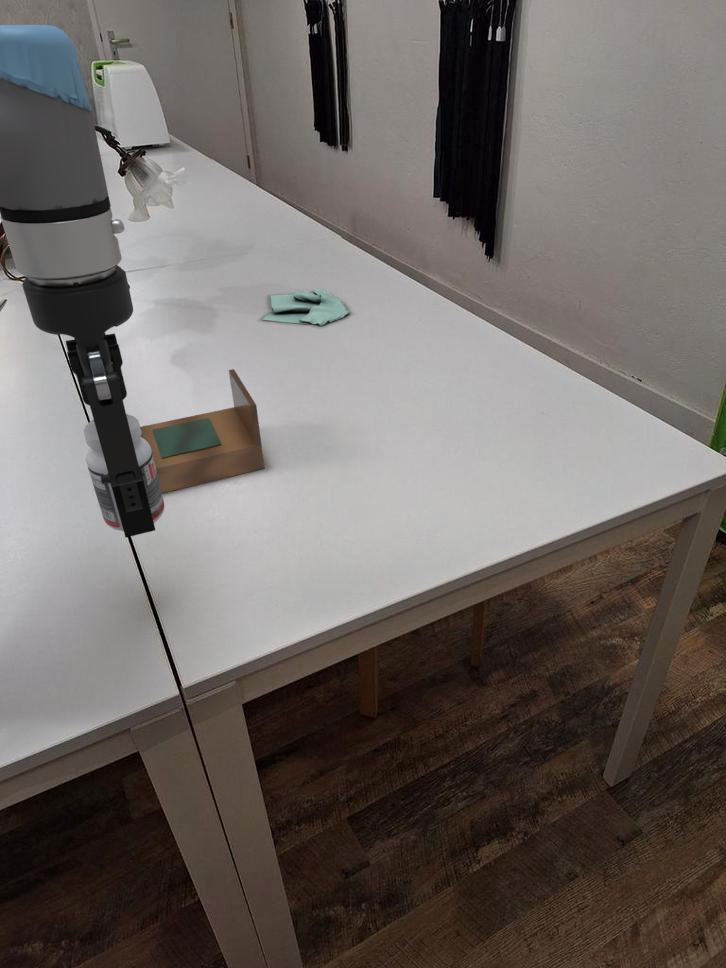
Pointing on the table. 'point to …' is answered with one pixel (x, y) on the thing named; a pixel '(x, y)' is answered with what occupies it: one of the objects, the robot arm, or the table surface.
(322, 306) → the cloth
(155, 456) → the shelf
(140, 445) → the pill bottle
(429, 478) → the table surface
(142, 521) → the robot arm
